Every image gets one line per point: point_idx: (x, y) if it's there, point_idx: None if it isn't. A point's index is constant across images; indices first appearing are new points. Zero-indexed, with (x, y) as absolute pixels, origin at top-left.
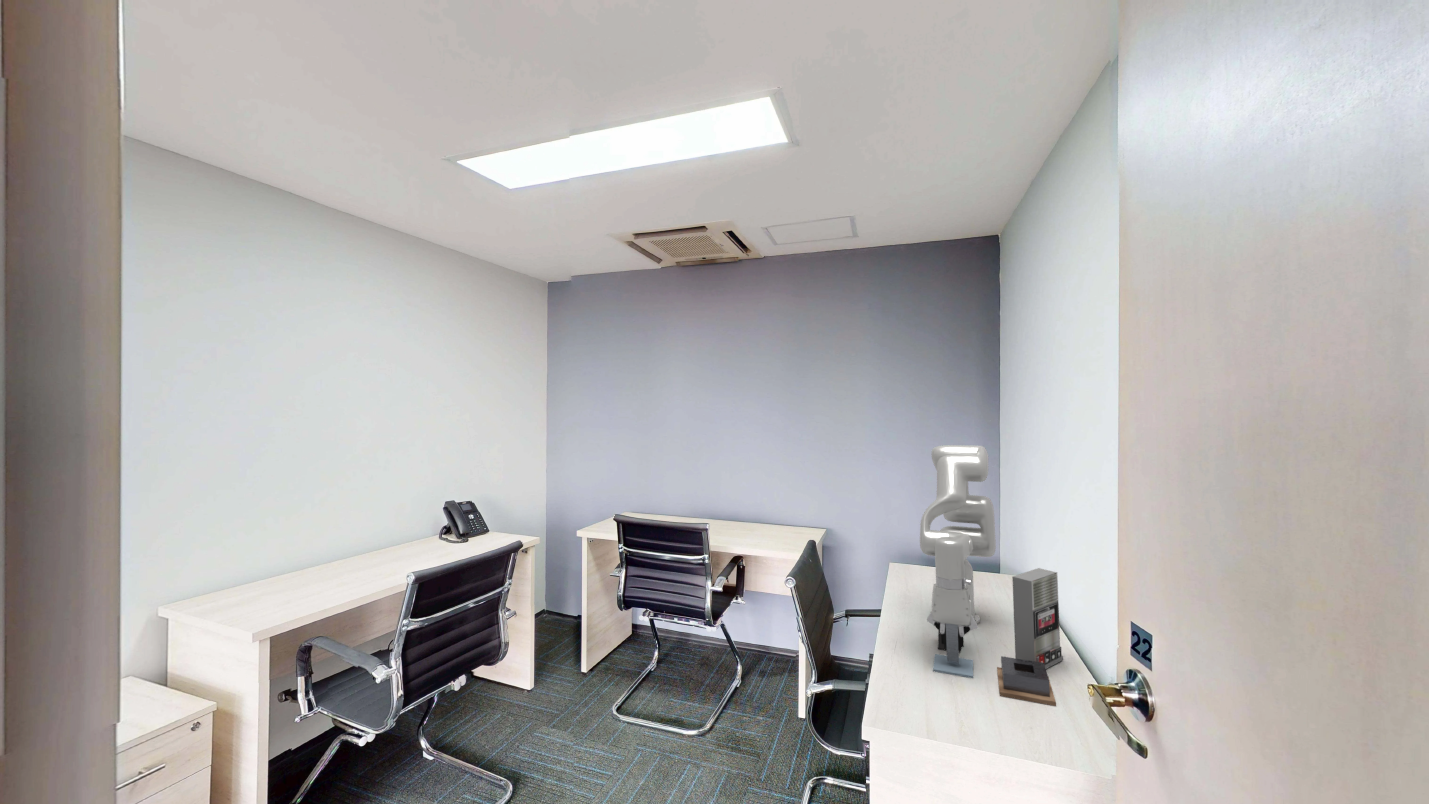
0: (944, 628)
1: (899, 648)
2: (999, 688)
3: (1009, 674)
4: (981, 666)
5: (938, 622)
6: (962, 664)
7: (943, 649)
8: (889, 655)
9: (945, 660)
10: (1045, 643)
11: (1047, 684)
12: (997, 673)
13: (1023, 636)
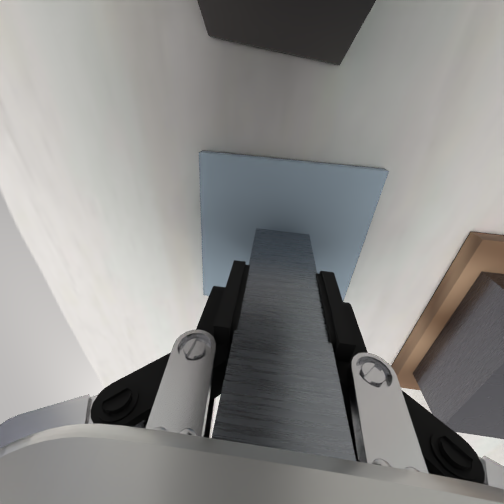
0: (208, 437)
1: (23, 110)
2: (399, 372)
3: (461, 430)
4: (410, 206)
5: (134, 425)
6: (320, 234)
7: (242, 42)
8: (27, 206)
9: (248, 215)
10: None
11: None
12: (456, 256)
13: None
